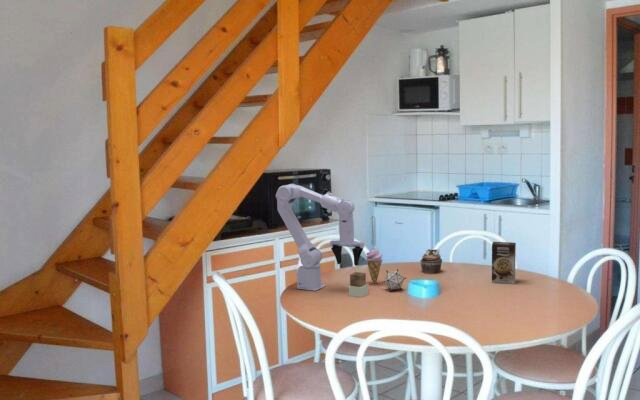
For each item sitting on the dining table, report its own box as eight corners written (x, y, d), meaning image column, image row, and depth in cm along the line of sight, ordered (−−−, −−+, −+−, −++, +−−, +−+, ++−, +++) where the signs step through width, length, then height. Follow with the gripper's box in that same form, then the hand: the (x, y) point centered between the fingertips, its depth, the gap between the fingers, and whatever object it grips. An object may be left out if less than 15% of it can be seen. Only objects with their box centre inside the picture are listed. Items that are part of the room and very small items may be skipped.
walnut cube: (350, 285, 224) (349, 274, 224) (355, 283, 228) (355, 272, 227) (360, 287, 222) (360, 275, 221) (365, 284, 226) (365, 273, 225)
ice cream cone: (383, 281, 244) (382, 246, 242) (383, 285, 238) (382, 249, 236) (367, 282, 244) (366, 247, 243) (367, 285, 238) (366, 249, 237)
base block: (348, 296, 224) (348, 286, 224) (355, 292, 229) (355, 282, 228) (361, 297, 221) (361, 287, 221) (367, 294, 226) (367, 284, 226)
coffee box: (491, 283, 236) (491, 244, 234) (492, 279, 242) (492, 241, 240) (514, 284, 232) (514, 244, 231) (515, 280, 238) (515, 241, 237)
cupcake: (419, 269, 264) (419, 247, 263) (441, 269, 263) (441, 247, 262) (420, 274, 255) (420, 252, 254) (443, 274, 253) (442, 251, 252)
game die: (398, 300, 229) (404, 283, 223) (378, 292, 231) (384, 275, 224) (403, 284, 236) (410, 268, 229) (383, 276, 237) (389, 260, 231)
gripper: (325, 231, 231) (327, 265, 232) (358, 233, 223) (359, 267, 225) (334, 228, 237) (335, 261, 238) (366, 230, 229) (367, 264, 231)
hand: (347, 264), depth 232 cm, fingers open, 7 cm apart
